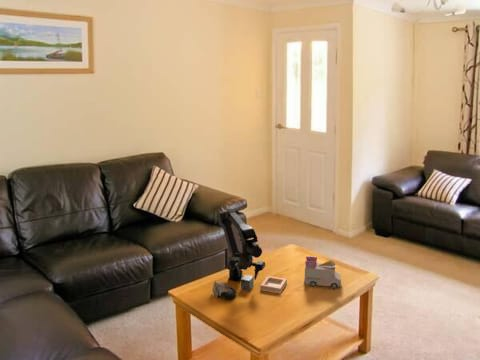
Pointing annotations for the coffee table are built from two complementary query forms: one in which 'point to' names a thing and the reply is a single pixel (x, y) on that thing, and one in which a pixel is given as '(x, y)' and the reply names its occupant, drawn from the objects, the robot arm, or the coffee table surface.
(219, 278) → the coffee table surface
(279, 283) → the square tray
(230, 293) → the caster wheel
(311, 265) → the toy vehicle
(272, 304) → the coffee table surface
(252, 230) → the robot arm
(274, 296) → the coffee table surface
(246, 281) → the grey metal box
